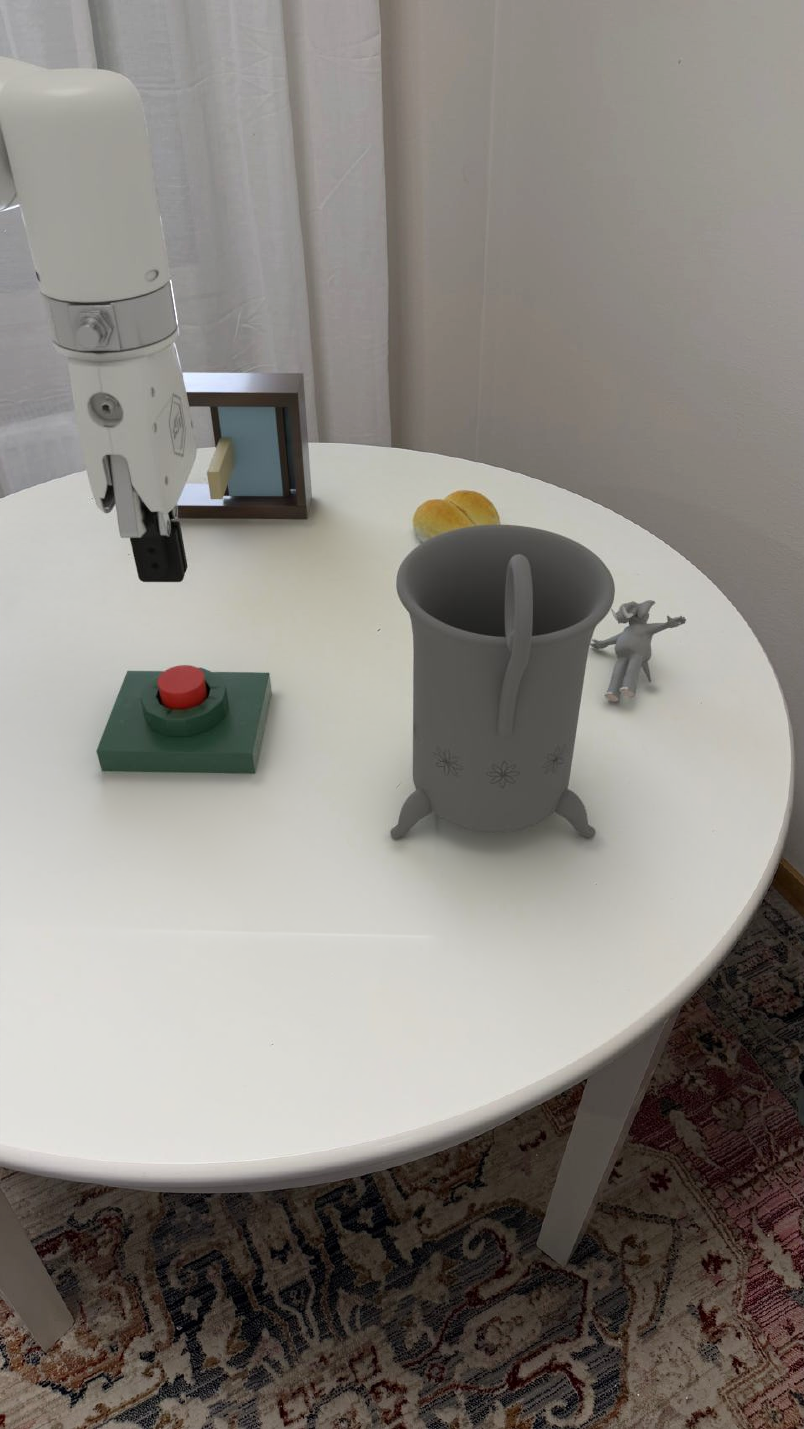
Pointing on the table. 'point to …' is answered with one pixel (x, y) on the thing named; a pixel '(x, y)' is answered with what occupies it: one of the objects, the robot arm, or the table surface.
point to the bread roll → (453, 514)
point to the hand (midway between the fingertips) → (163, 575)
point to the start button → (182, 687)
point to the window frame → (292, 397)
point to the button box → (187, 726)
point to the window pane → (249, 452)
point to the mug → (499, 673)
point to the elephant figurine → (632, 646)
